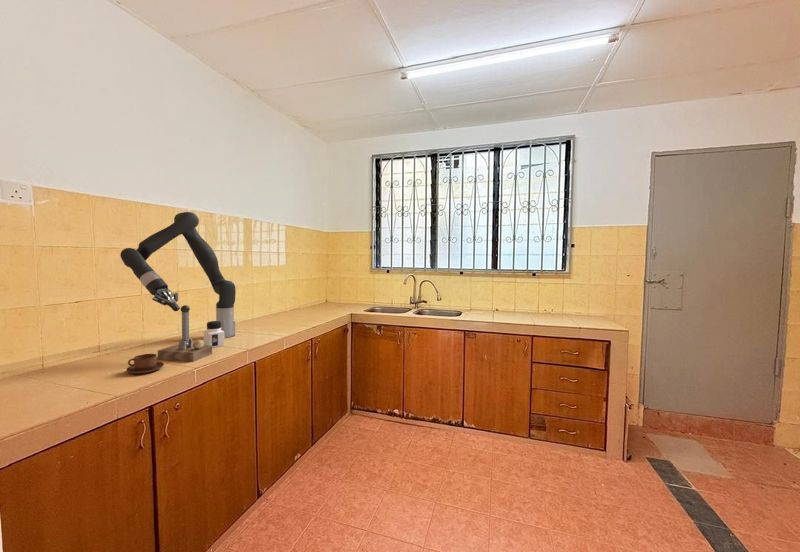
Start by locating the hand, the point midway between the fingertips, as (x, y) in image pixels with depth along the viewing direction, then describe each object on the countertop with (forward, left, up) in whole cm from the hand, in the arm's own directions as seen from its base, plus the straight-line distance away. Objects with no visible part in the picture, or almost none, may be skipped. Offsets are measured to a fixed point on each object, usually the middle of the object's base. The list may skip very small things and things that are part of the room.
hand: (177, 309), depth 153 cm
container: (-19, -7, -22) cm, 30 cm away
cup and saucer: (+16, +12, -22) cm, 30 cm away
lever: (-2, +3, -18) cm, 18 cm away
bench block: (-2, +3, -22) cm, 22 cm away
